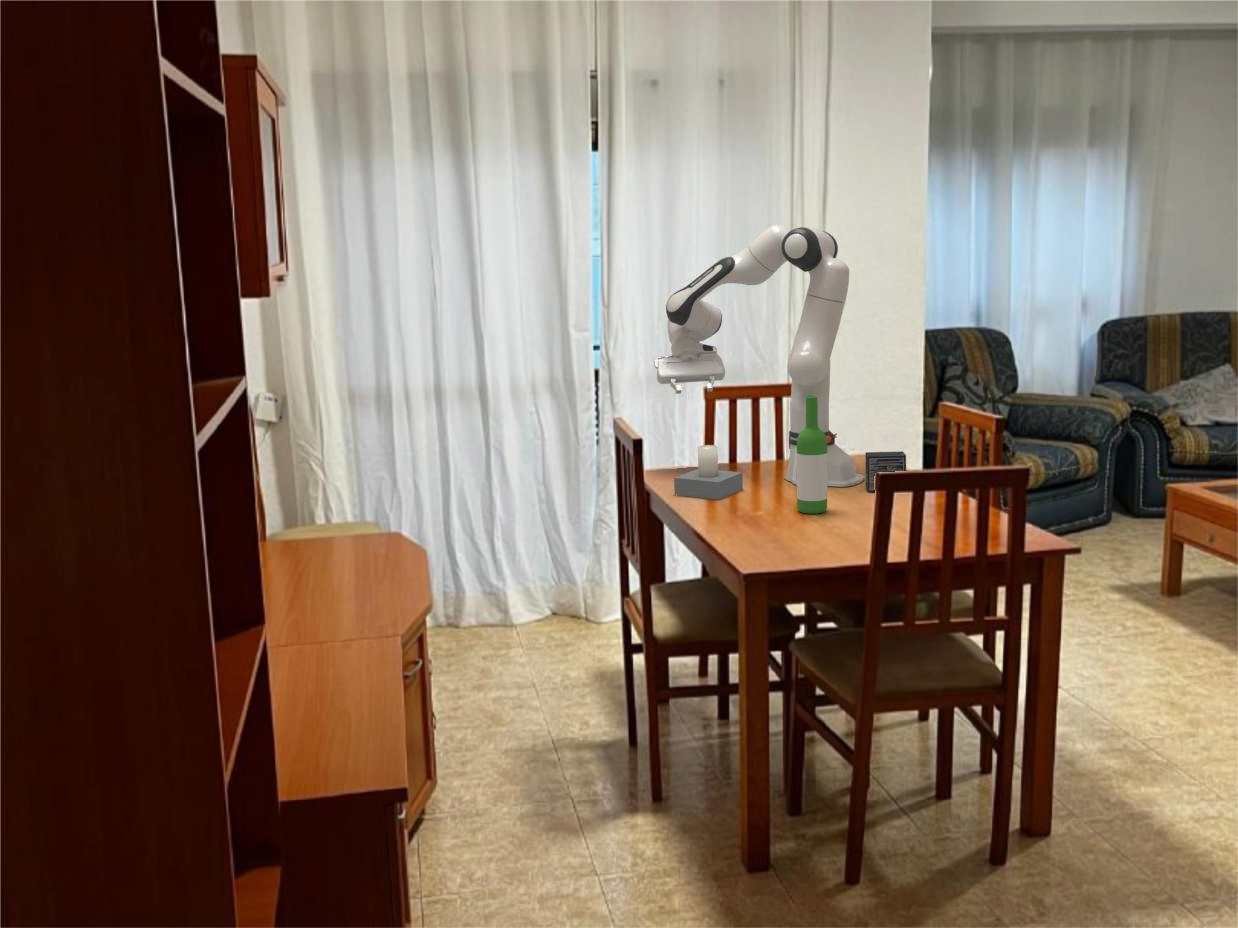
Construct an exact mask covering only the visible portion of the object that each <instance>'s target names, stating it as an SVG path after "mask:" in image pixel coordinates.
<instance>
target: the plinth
mask: <svg viewBox="0 0 1238 928" xmlns="http://www.w3.org/2000/svg"><path fill="white" fill-rule="evenodd" d="M673 482H674V483H673V485H674V489H673V490H674V496H676V494H677V495H681V496H680V497H685V496H690V497H689V498H695V497H696V498H697V499H704V498H705V499H707V500H714V501H720V500H722V499H725V498H727V497H729V496H731V495H734V494H736V493H738V492H741V491H743V490H744V488H743V487H744V486H743V471H742V472H740V471H729V470H719V469H718V476H715V477H701V476H699V471H698V468H696V469H694V470H691V471H689V472H686V473H683V474H680V475H678V476H676V477H673ZM696 498H695V499H696Z"/></svg>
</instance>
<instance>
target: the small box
mask: <svg viewBox="0 0 1238 928" xmlns="http://www.w3.org/2000/svg"><path fill="white" fill-rule="evenodd" d="M895 471H906V472H907V454H906V453H905V452H904V451H902V450H901V451H874V452H873V451H868V452H865V490H866V492H867V493H868V494H872V493H873V494H874V493H875V490H874V476H875V473H877V472H895ZM875 494H876V493H875Z"/></svg>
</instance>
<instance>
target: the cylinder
mask: <svg viewBox="0 0 1238 928" xmlns="http://www.w3.org/2000/svg"><path fill="white" fill-rule="evenodd" d="M718 447H719V446H717V445H714V444H705V445H698V446H697V467H698V468H697V469H698V471H699V476H701V477H715V476H718V470H719V457H718V456H719V454H718V452H719V449H718Z"/></svg>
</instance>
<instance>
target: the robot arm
mask: <svg viewBox="0 0 1238 928" xmlns="http://www.w3.org/2000/svg"><path fill="white" fill-rule="evenodd" d="M838 251H839V245H838V242H837V240H836V239H835V237H834V236H833V235H832V234H830V233H829V232H827V231H825V230H819V229H818V228H814V227H801V226H799V227H795V228H794V229H791V230H790V229H789V228H788V227H787V226H785V225H783V224H779V223H778V224H771V226H769V227H767V228H766V229H765V230H764V231H763V232H761V233H760V234H758V235H757V236H756V237H755V238H754V239H753V240H752V241H751V242H750V243H749V244H748V245H747V246H746V247H745V248H743V249H742V250H741V251H738V252H737V253H735V254H733V255H731V256H728V257H726V256H725V257H723V258H721V259H720V260H718V261H717V262H715V263H713V264H712V265H711V266H710V267H708V269H706V270H705V271H704V272H703V273H701V274H700V275H699V276H697V277H696V278H695V279H694V280H692V281H691V282H690V283H688V284H687V285H686V286H685V287H682V288H681V289H679V290H677V291H675V292H674V293H672V294H671V295H670V296H669V298H668V299H667V301H666V305H665V312H666V317H667V334H668V339H669V342H670V344H671V347H670V349H671V355H666V356H658V357H656V358H655V359H654V361H653V364H654V367H655V369H656V380H657V382H658V383H659V384H660V385H666V384H667V385H668V384H670V385H669V386H670V387H671V388H672V389H673V390H674V392H675V394H676V395H677V394H682V393H681V392H682V386H681V385H678V384H683V383H696V382H697V383H698V382H699V383H700V382H708V383H707V384H706V390H707V391H706V392H709V393H710V392H713V389H714V388H713V387H714V383H715V382H716V381H723V380H724V378H725V375H726V369H725V365H724V363H723V360H722V357H721V356H720V355H719V354H718V349H717V347H716V346H714V345H708V344H704V343H702V342H703V341H706V340H707V339H709V338H711V337H713V336H714V335H716V334H717V333H718V332H719V331H720V329H721V327H722V323H723V314H722V312H721V310H720V308H718V307H716V306H715V305H713V304H711V303H709V302H707V301H705V300H703V299H704V298H705V297H706V296H707V295H709V294H711V292H713V291H714V290H715V289H716V288H717V287H719V286H722V285H725V284H739V285H745V286H759V285H761V284H763V283H764V282H766V281H767V280H769V279H770V278H771V277H772V276H773V275H774V274H775V273H776V272H777V271H778V270H779V268H781V267H782V266H783V265H784V264H785V263H787V262H789V263H790V264H791V265H793V266H794V267H796V268H798V269H800V270H801V271H803V272H804V273H806V272H807V273H809V284H808V288H807V290H806V295H805V301H804V304H803V307H802V312H801V316H800V320H799V324H798V326H797V330H796V334H795V336H794V341H793V344H792V347H791V350H790V354H789V359H788V362H787V371H788V374H789V377H790V378H791V388H790V400H789V401H790V403H789V406H790V407H789V408H790V409H789V413H790V414H789V417H790V419H789V421H790V422H789V423H790V425H789V428H790V429H789V432H788V448H789V456H788V457H789V458H788V463H787V470H786V473H785V476H784V479H785V480H786V481H788V482H791V483H792V484H793V485H796V486H797V438H798V435H799V434H800V432H801V431H802V430H803V429H804V428H805V427H806V396H817V401H818V428H819V429H821V430H822V431H823V432H824V434H825V436H826V439H827V487H834V488H835V487H839V488H840V487H841V488H846V487H852V486H856V485H858V484H860V483H862V482H863V481H864V480H865V479H864V478H865V477H864V475H863V474H859V473H857V470H856V464H855V461H854V459H853V457H852V456H851V455H849V454H848V453H847V452H845V450H843V449H842V448H841V447H840V446H839V445H837V444H836V438H837V437H838V436H837V435H838V433H833V432H832V431H831V430H830V388H831V386H830V385H831V384H830V383H831V357H832V353H833V349H834V346H835V342H836V339H837V338H836V337H837V335H838V332H839V328H840V324H841V320H842V315H843V312H844V308H845V304H846V300H847V295H848V292H849V291H848V290H849V286H850V285H849V283H850V267H849V266H848V265H847V264H846V262H844V261H843V260H841V259H838V258H837V256H838Z"/></svg>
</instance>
